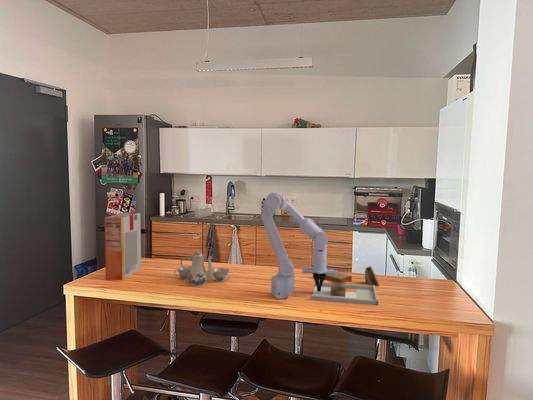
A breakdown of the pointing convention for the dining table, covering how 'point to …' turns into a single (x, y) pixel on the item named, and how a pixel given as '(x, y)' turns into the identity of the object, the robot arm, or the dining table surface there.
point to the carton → (339, 278)
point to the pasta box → (122, 245)
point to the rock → (371, 276)
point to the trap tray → (347, 294)
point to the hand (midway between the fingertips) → (319, 290)
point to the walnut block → (338, 289)
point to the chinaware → (200, 271)
